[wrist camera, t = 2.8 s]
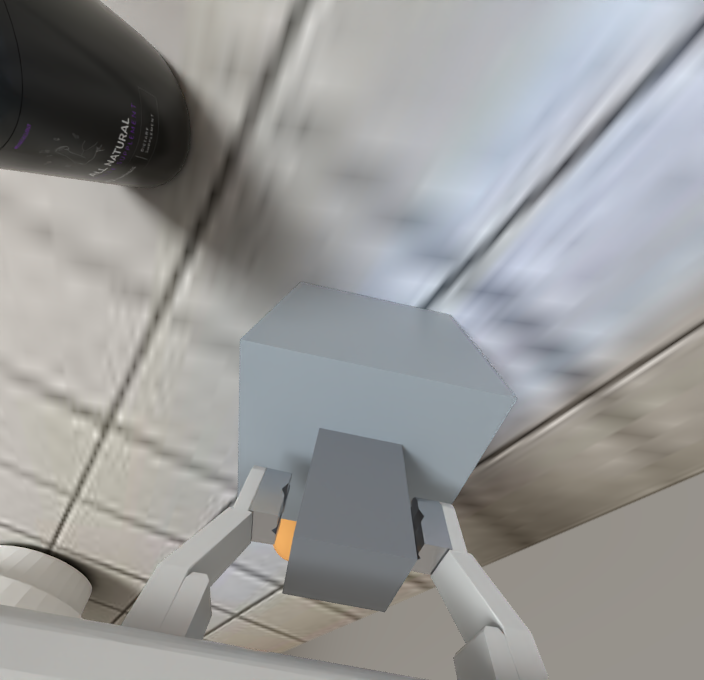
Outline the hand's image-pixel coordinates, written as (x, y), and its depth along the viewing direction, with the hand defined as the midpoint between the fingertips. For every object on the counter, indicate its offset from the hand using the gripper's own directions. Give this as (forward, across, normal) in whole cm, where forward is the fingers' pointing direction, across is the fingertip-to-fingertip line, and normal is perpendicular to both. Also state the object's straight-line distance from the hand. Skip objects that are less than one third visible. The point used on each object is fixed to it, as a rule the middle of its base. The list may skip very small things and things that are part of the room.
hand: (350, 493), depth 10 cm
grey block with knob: (+10, 0, 0) cm, 10 cm away
